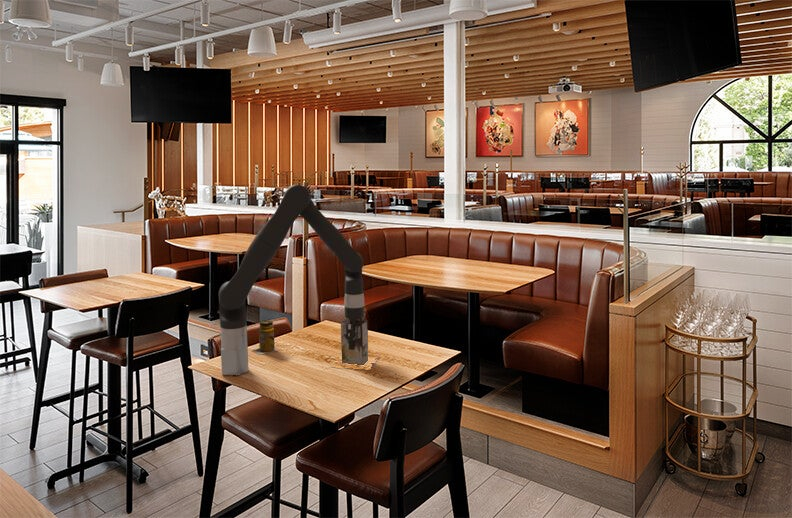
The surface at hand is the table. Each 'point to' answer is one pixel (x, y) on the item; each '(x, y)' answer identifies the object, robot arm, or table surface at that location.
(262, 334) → the condiment
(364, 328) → the coffee box
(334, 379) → the table surface
